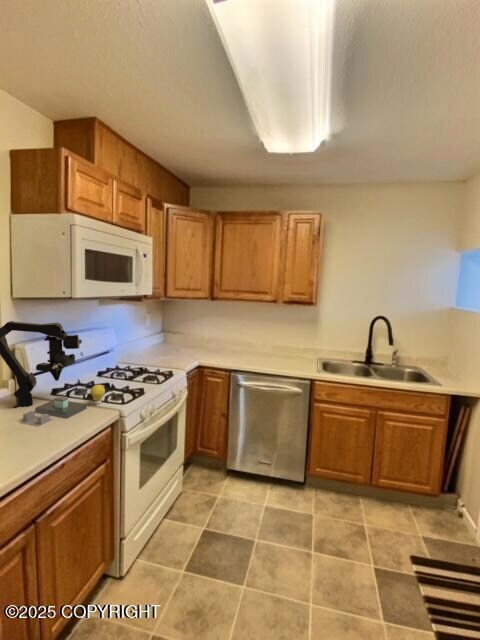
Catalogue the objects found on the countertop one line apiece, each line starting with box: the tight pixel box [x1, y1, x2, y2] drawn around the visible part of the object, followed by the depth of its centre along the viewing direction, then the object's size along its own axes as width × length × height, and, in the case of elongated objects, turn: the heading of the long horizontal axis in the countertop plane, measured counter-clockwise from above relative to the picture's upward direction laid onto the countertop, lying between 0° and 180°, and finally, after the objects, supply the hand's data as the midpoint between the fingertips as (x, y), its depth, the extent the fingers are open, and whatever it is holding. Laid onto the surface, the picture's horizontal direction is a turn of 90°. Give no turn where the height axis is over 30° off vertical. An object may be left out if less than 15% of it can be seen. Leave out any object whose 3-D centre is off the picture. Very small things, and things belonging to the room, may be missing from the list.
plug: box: [53, 395, 69, 409], centre depth 164 cm, size 5×3×7 cm, turn 74°
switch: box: [34, 399, 88, 419], centre depth 165 cm, size 18×12×3 cm, turn 73°
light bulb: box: [90, 384, 106, 406], centre depth 175 cm, size 7×7×10 cm
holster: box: [19, 410, 54, 428], centre depth 152 cm, size 10×8×4 cm
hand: (56, 380), depth 172 cm, fingers closed
